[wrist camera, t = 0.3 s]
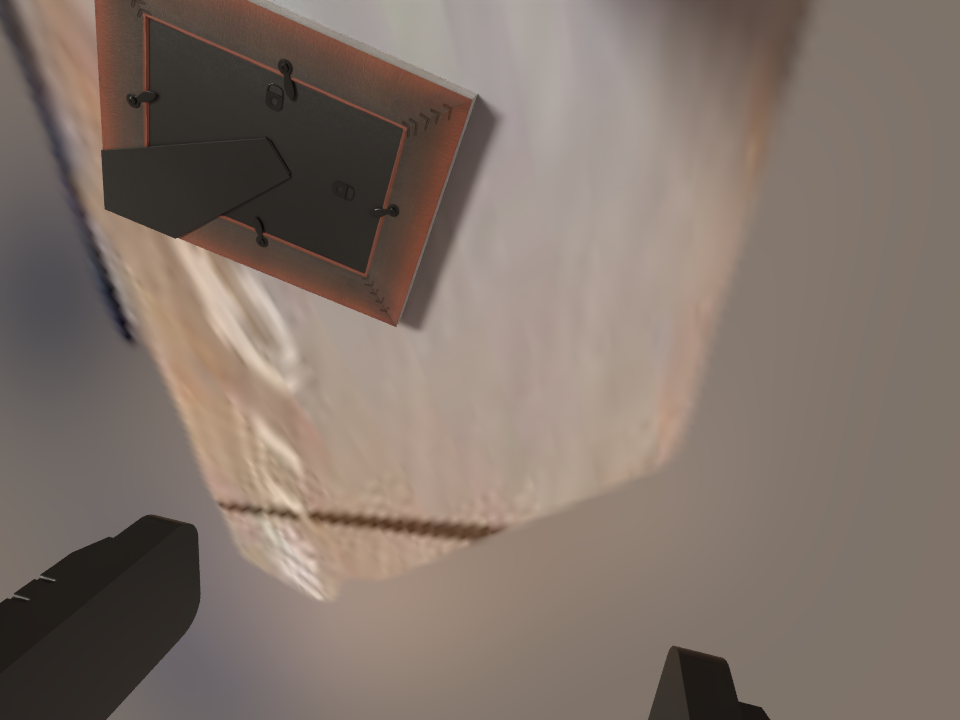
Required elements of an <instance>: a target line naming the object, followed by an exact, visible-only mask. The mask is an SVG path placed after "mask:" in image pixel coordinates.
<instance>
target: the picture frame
mask: <svg viewBox="0 0 960 720" xmlns="http://www.w3.org/2000/svg"><path fill="white" fill-rule="evenodd" d="M95 16H96V34H97V52H98V70H99V88H100V106H101V124H102V141H103V150H101V156H102V172H103V189H104V205H105V209H106V210H108V211H110V212H113V213H115V214H118V215H120V216H122V217H125V218H127V219H130V220H132V221H134V222H137V223H139V224H142V225H144V226H147V227H149V228H151V229H154V230H156V231H159V232H161V233H163V234H166V235H168V236H171V237H173V238H175V239H176V238H180V239H182V240H185V241H187V242H190V243H192V244H194V245H197V246H199V247H202V248H204V249H207V250H209V251H212V252H214V253H216V254H219V255H221V256H224V257H226V258H229V259H231V260H234V261H236V262H238V263H241V264H243V265H246V266H248V267H251V268H253V269H256V270H258V271H261V272H263V273H265V274H268V275H270V276H273V277H275V278H278V279H280V280H283V281H285V282H287V283H290V284H292V285H295V286H297V287H300V288H302V289H305V290H307V291H309V292H312V293H314V294H317V295H319V296H322V297H324V298H327V299H329V300H332V301H334V302H336V303H339V304H341V305H344V306H346V307H349V308H351V309H354V310H356V311H358V312H361V313H363V314H366V315H368V316H371V317H373V318H376V319H378V320H380V321H383V322H385V323H388V324H390V325H393V326H395V327H396V326H397V324H398V323H399V321H400V319H401V317H402V315H403V312H404V309H405V306H406V303H407V300H408V297H409V294H410V292H411V289H412V286H413V283H414V280H415V277H416V274H417V271H418V268H419V265H420V262H421V259H422V256H423V253H424V250H425V247H426V244H427V242H428V239H429V236H430V233H431V230H432V227H433V224H434V221H435V218H436V215H437V212H438V209H439V206H440V203H441V200H442V197H443V194H444V192H445V189H446V186H447V183H448V180H449V177H450V174H451V171H452V168H453V165H454V162H455V159H456V156H457V153H458V150H459V147H460V144H461V142H462V139H463V136H464V133H465V130H466V127H467V124H468V121H469V118H470V115H471V112H472V109H473V106H474V103H475V100H476V97H477V93H475V92H472V91H470V90H468V89H465V88H463V87H461V86H459V85H456V84H454V83H452V82H450V81H447V80H445V79H443V78H441V77H438V76H436V75H434V74H432V73H429V72H427V71H425V70H423V69H420V68H418V67H416V66H414V65H411V64H409V63H407V62H404V61H402V60H400V59H398V58H395V57H393V56H391V55H389V54H386V53H384V52H382V51H380V50H377V49H375V48H373V47H371V46H368V45H366V44H364V43H362V42H359V41H357V40H355V39H353V38H350V37H348V36H346V35H344V34H341V33H339V32H337V31H334V30H332V29H330V28H328V27H325V26H323V25H321V24H319V23H316V22H314V21H312V20H310V19H307V18H305V17H303V16H301V15H298V14H296V13H294V12H292V11H289V10H287V9H285V8H283V7H280V6H278V5H276V4H274V3H271V2H269V1H267V0H95Z"/></svg>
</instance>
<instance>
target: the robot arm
mask: <svg viewBox="0 0 960 720" xmlns="http://www.w3.org/2000/svg"><path fill="white" fill-rule="evenodd" d="M199 603H200V571H199V547H198V532H197V529H196V528H195V526H194V525H192V524H189V523H185V522H181V521H177V520H173V519H169V518H165V517H161V516H156V515H146V516H144V517H142V518H140V519H139V520H138V521H136V522H135V523H134V524H132V525H131V526H130V527H128V528H127V529H125V530H124V531H123V532H121V533H120V534H119V535H117V536H116V537H114V538H112V537H107V538H105V539H103V540H101V541H98V542H96V543H93V544H91V545H89V546H86V547H84V548H82V549H79V550H77V551H75V552H72V553H71V554H69V555H68V556H66V557H65V558H64V559H62V560H61V561H59V562H58V563H57V564H55V565H54V566H53V567H51V568H49V569H48V570H46V571H45V572H44V573H42V574H41V576H40V578H39V579H38V580H36V579H34V580H32V581H31V582H29V583H28V584H27V585H25V586H24V587H22V588H21V589H20V590H18V591H17V592H15V593H14V596H13V597H12V598H11V599H5V600H4V601H2V602H1V603H0V720H106V719H107V718H108V717H109V716H110V715H111V714H112V713H113V712H114V711H115V709H116V708H117V707H118V706H119V705H120V704H121V703H122V702H123V701H124V700H125V699H126V697H127V696H128V695H129V694H130V693H131V692H132V691H133V690H134V689H135V687H136V686H137V685H138V684H139V683H140V682H141V681H142V680H143V679H144V678H145V677H146V676H147V675H148V673H149V672H150V671H151V670H152V669H153V668H154V667H155V666H156V665H157V664H158V663H159V661H160V660H161V659H162V658H163V657H164V656H165V655H166V654H167V653H168V651H170V649H171V648H172V647H173V646H174V645H175V644H176V643H177V642H178V641H179V640H180V638H181V637H182V636H183V635H184V634H185V633H186V631H187V630H188V629H189V627H190V625H191V624H192V622H193V620H194V618H195V615H196V613H197V610H198V607H199ZM648 720H770V719H769V717H768V716H767V714H766V713H765V712H764V710H763V709H762V708H761V707H757V706H754V705H750V704H746V703H742V702H739V701H738V698H737V695H736V691H735V687H734V683H733V680H732V676H731V672H730V669H729V665H728V663H727V661H726V660H725V659H724V658H721V657H717V656H713V655H709V654H705V653H701V652H697V651H693V650H689V649H685V648H681V647H677V646H672V647H671V648H670V650H669V652H668V655H667V658H666V661H665V665H664V668H663V672H662V675H661V678H660V682H659V685H658V688H657V691H656V695H655V698H654V701H653V705H652V708H651V712H650V715H649V719H648Z"/></svg>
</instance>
